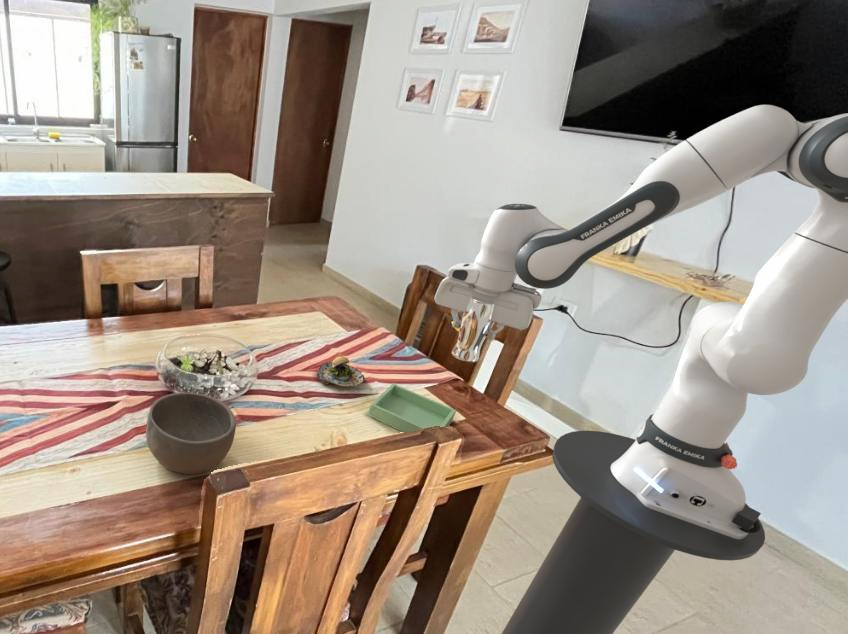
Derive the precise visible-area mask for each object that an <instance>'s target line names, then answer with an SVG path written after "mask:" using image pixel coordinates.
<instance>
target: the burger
mask: <svg viewBox="0 0 848 634" xmlns="http://www.w3.org/2000/svg"><path fill="white" fill-rule="evenodd" d="M349 363H350V359H349V358H348V357H346V356H343V355H339V356H337V357H335V358H334V359H333V360H332V361H329V362H328V361H327V362H325V363H322V364H320V366H319V367H318V371H317V373H316V375H317V378H318V380H319V381H320V382H321V383H322V384H323V385H325V386H327V385H328V384H332V385H334V386H338V387H343V388H346V387H348V388H349V387H350V388H351V387H355V386H360V385H361V384H362V383H363V382H364V381H365V380H366V379H365V378H366V377H365V376H364V374H362V372H361V371H360V370H359V369H358V368H356V367H354V366H351V365H350V364H349ZM348 364H349V365H348Z"/></svg>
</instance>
